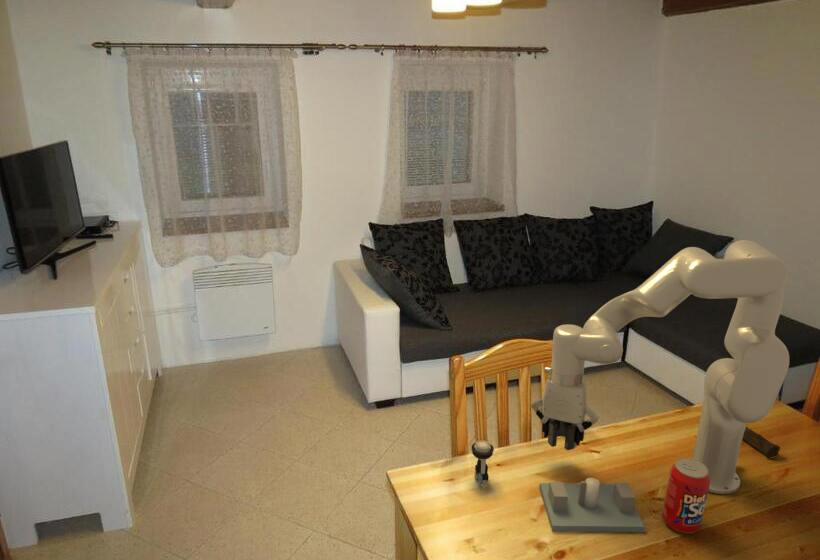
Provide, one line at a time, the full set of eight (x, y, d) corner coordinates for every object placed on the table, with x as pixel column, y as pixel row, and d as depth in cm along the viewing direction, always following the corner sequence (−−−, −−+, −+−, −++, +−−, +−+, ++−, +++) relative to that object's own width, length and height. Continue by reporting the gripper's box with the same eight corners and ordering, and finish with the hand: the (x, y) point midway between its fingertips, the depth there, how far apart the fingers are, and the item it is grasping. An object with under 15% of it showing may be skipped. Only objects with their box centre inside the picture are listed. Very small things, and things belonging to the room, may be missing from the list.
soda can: (664, 506, 135) (674, 451, 130) (701, 518, 131) (713, 463, 126) (658, 527, 129) (669, 471, 124) (698, 541, 125) (710, 483, 120)
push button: (495, 488, 140) (498, 453, 137) (474, 490, 140) (475, 455, 137) (488, 471, 147) (490, 437, 143) (467, 472, 146) (469, 438, 143)
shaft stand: (622, 489, 141) (626, 463, 138) (643, 532, 127) (648, 504, 125) (539, 488, 141) (541, 462, 138) (552, 531, 128) (555, 503, 125)
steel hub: (551, 430, 151) (552, 410, 149) (579, 437, 148) (581, 416, 146) (544, 445, 145) (546, 424, 143) (574, 452, 142) (576, 431, 140)
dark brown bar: (778, 458, 153) (782, 443, 151) (766, 460, 152) (770, 445, 150) (723, 419, 170) (726, 405, 168) (711, 421, 169) (714, 407, 167)
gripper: (527, 375, 141) (524, 438, 146) (602, 390, 133) (596, 455, 139) (534, 362, 147) (531, 423, 153) (607, 375, 140) (600, 438, 146)
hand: (562, 438), depth 146 cm, fingers closed on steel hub, 7 cm apart
